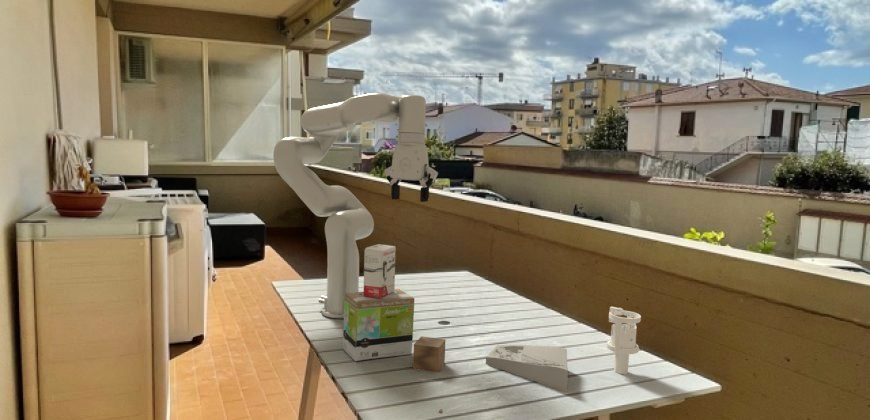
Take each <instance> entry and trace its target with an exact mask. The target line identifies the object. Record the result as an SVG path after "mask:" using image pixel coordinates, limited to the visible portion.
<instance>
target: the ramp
mask: <svg viewBox="0 0 870 420" xmlns="http://www.w3.org/2000/svg"><path fill="white" fill-rule="evenodd" d="M567 351H568V350H567V348H564V347H559V346H552V345H550V346H549V345H527V344H525V345H524V344H497V345H496V346H495V347H494V348H493V349H492V351H490V353H488V355H486V356H485V365H487V366H489V367H494V368H497V369H498V370H502V371H504V372H507V373H510V374H513V375H516V376H520V377H521V378H523V379H528V380H530V381H534V382H537V383H538V384H539V383H540V384H543V385H545V386H548V387H551V388H552V389H553V388H554V389H557V390H559V391H563V392H565V393H567V392H568V377H569V369H568V352H567Z"/></svg>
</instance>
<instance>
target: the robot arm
mask: <svg viewBox="0 0 870 420" xmlns="http://www.w3.org/2000/svg"><path fill="white" fill-rule="evenodd" d="M426 103H427V101H426V98H425V97H424V96H422V95H414V94H405V95H404V94H403V95H402V96H395V95H390V94H385V93H381V92H373V93H372V92H371V93H366V94H361V95H360V94H359V95H357V96H353V97H349V98H348V99H345V101H340V102H337V103H332V104H327V105H326V104H325V105H321V106H317V107H315V106H314V107H311V108H309V109H306V110H305V111H304V112H303V113H302V115H301V117H300V126H301V128H302V129H303V131H304V132H305V133H306V134H309V135H310V136H309V137H304V136H289V137H284V138H281V139H280V140H278V142H276V144H275V146H274V147H273V148H274V149H273V153H272V154H273V155H272V156H273V157H272V158H273V164H274V166H275V170H276V171H277V174H278V175H279V176H280V177H281V179H282V180H283V181H284V182H285V183H286V184H287V185H288V186H289V187H290V188H291V189H292V190H293V191H294V192H295V194H296V195H297V197H299V198H300V200H301V201H302V202H303V203H304V204H305V205H306V207H307V208H308V209H309V210H310V211H311V212H312V213H313V214H314V215H315V216H316V217H321V218H322V217H327V219H326V221H325V225H324V235H325V239H326V240H325V241H326V246H327V247H326V248H327V249H326V250H327V251H326V252H327V260H326V261H327V271H326V273H327V278H326V281H327V282H326V283H327V284H326V285H327V286H326V295H321V296H320V298H318V303H319V304H324V305H323V307H322V309H321V315H322V316H324V317H326V318H331V319H344V304H345V293H349V292H360V291H359V286H360V285H359V284H360V283H359V282H360V281H359V280H360V279H359V278H360V253H359V249H358V245H357V242H356V241H358V240H362V239H365V238H367V237H369V236H370V235H371V234H372V233H373V231H374V229H375V228H374V227H375V221H374V218H373V216H372V214H371V212H370V211H369V210H368V209H367V208H366V207H365V205H363V203H362V202H361V201H360V200H359V199H358V198H357V197H356V196H355V194H353V193H352V192H351V191H350V190H349V189H348V188H346V187H344V186H341V185H328V184H326V183H325V182H323V180H322V179H320V177H319V175H317V173H315V172H314V171H313V170H312V169H310V168H309V167H307V166H306V165H313V164H319V162H321V161H322V160H323V159H324V158H325V157H326V155H327V154H328V152H329V151H330V149H331V148H332V146H333V145H334V144H335V143H336V141H337V140H338V138H339V136H340V134H341V133H342V132H349V131H352V130H353V129H354V128H355V126H356V124H362V123H365V122H372V121H373V122H374V121H380V122H386V123H387V122H388V123H398V127H397V128H398V133H397V135H395V137H394V140H395V141H397V144H395V145H394V149H393V154H392V161H391V165H390V166H389V167H386V168H385V169H384V171H383V172H384V175H385V176H386V181H387V182H389V185H390V186H391V190H390V193H391V194H390V196H391V200H400V199H401V198H400V197H401V196H400V189H401V186H400V185H399V184H400V182H401V181H403V180H404V181H419V183H420V185H421V186H422V187H420V201H419V202H421V203H425V202H426V203H427V202H429V198H430V188H431V187H432V185H433V184H434V183H435V181H436V178H437V177H438V175H439V172H438V171H436V170H435V169H434V168H432V167H430V165H429V153H428V147H427V145H425V142H426V111H427V109H426V108H427V107H426V106H427V104H426ZM429 175H430V177H429Z"/></svg>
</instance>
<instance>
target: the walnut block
mask: <svg viewBox="0 0 870 420" xmlns="http://www.w3.org/2000/svg"><path fill="white" fill-rule="evenodd" d="M412 357H413V359H412V361H413V363H412V370H415V371H416V370H417V371H422V372H423V371H425V372H432V373H439V372H440V371H441V369H442V368H443V366H444V365H445V362H446V338H439V337H438V338H436V337H428V336H420V337H419V338H417V340H416V341H415V343H413V356H412Z"/></svg>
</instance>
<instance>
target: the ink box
mask: <svg viewBox="0 0 870 420" xmlns="http://www.w3.org/2000/svg"><path fill="white" fill-rule="evenodd" d="M396 250H397V248H396V246H395V245H389V244H380V243H379V244H378V243H377V244H374V245H370V246H367V247H365V248H364V257H363V258H364V262H363V263H364V264H363V265H364V267H363V292H364V294H363V296H368V297H375V298H382V297H384V296H386V295H388V294H390V293H392V292H394V289H395V288H396V287H395V285H396V284H395V281H396V280H395V279H396Z"/></svg>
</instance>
